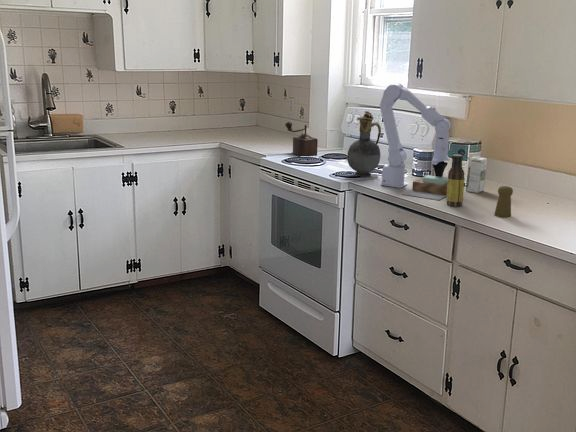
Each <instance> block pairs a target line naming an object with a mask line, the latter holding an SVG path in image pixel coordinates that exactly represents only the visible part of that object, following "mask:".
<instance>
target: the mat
mask: <svg viewBox="0 0 576 432" xmlns="http://www.w3.org/2000/svg"><path fill="white" fill-rule="evenodd" d="M401 195H403V196H407V197H414V198H421V199H428V200H433V201H434V200H435V201H441V200H442V199H444V198H447V196H446V195H440V194H433V193H427V192H420V191H413V190H412V189H411V190H408V191H406V192H403V193H401Z"/></svg>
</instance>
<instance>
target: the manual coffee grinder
mask: <svg viewBox="0 0 576 432" xmlns="http://www.w3.org/2000/svg"><path fill="white" fill-rule="evenodd" d="M285 127H286V128H287V130H286V131H288V132H290V133H299V132H301V134H300V135H299V136H295V137H294V136H292V152H291V153H292V155H294V156H297V155H298V156H297V157H300V156H307V157H317V156H318V138H316V137H312V136H310V135H309V134H308V133H307V129H308V128H307V124H304V127H303V128H301V129H300V128H299V129H298V130H293V128H292V127H293V122H290V121H288V122H287V121H286V123H285ZM303 131H304V133H302V132H303Z"/></svg>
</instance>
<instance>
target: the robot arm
mask: <svg viewBox="0 0 576 432" xmlns="http://www.w3.org/2000/svg"><path fill="white" fill-rule="evenodd" d="M398 100H399V101H406V102H408V104H410V105H412V107H414V108H415V109H416V110H418V111H419V112H420V113H421V118H422V119H423V120H425V121H426V122H427V123H428V124H429V125H430V126H432V127H434V130H435V136H434V147H433V157H432V159H431V165H432V167H433V170H434V176H439V177H444V176H443V175H444V171H445V169H446V168H447V166H448V164H449V163H448V162H447V161H450V160H451V158H449V155H448V153H449V142H450V141H449V140H450V131H449V130H450V129H451V126H452V124H451V121H450V120H449V119H448V118H446V117H445V115H441V114H440V112H438V111H437V108H436V107H434V106H433V107H432V106H431V105H430V106H426V104H425V103H424V102H422V100H420V99H419V98H418V97H417V96H416V95H415V94H414V93H413V92H412V91H411V90H409V89H408V88H407V87H405V86H404V85H402V84H401V83H399V82H397V83H393V84H389V85H388V86H387V87H386V88H385V89H384V90H383V93H382V98H381V100H380V104H379V109H380V112H381V117H382V122H383V126H384V131H385V135H386V139H387V143H388V158H387V161H388V164H387V163H386V164H384V165H383V166H382V170H381V181H380V186H385V187H391V188H392V187H393V188H399V189H400V188H403V187H406V186H407V185H408V183H405V173H406V163H404V162H405V161H406V160H407V153H406V151H405V150H404V148H403V145H402V143H401V142H400V136H399V132H398V128H397V123H396V118H395V114H394V109H393V106H394V105H395V104H396V102H397V101H398Z"/></svg>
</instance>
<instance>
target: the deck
mask: <svg viewBox="0 0 576 432" xmlns="http://www.w3.org/2000/svg"><path fill="white" fill-rule="evenodd" d="M423 177H424V176H423ZM423 177H421V178H418V179H416V180H413V181H412V189H411V190H413V191H420V192H427V193H433V194H440V195H446V197H447V185H448V183H445V184H443V185H441V184H434V183H427V182H422V181H423Z"/></svg>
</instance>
